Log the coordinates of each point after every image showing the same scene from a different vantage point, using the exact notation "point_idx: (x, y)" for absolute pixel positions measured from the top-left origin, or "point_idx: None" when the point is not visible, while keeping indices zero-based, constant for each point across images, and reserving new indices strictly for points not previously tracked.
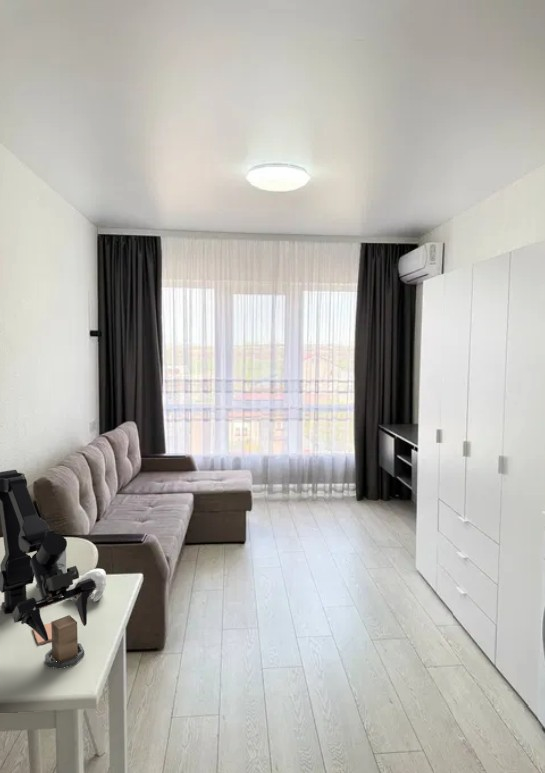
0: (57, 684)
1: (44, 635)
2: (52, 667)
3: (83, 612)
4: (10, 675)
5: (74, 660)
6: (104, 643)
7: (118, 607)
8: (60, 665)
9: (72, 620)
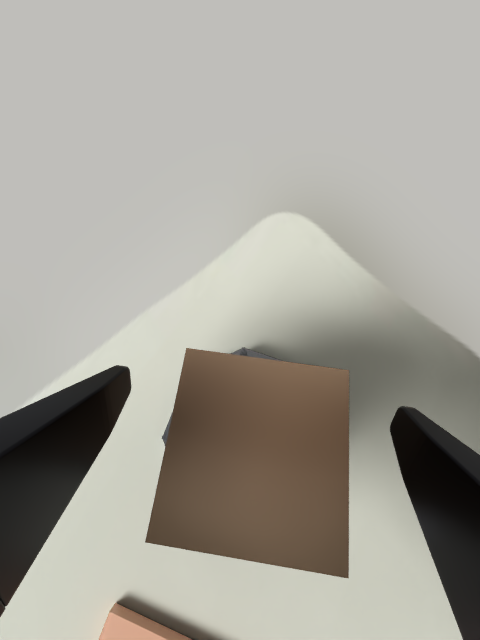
0: (345, 304)
1: (443, 430)
2: None
3: (56, 411)
4: None
5: (250, 351)
6: None
7: None
8: None
9: (193, 406)
